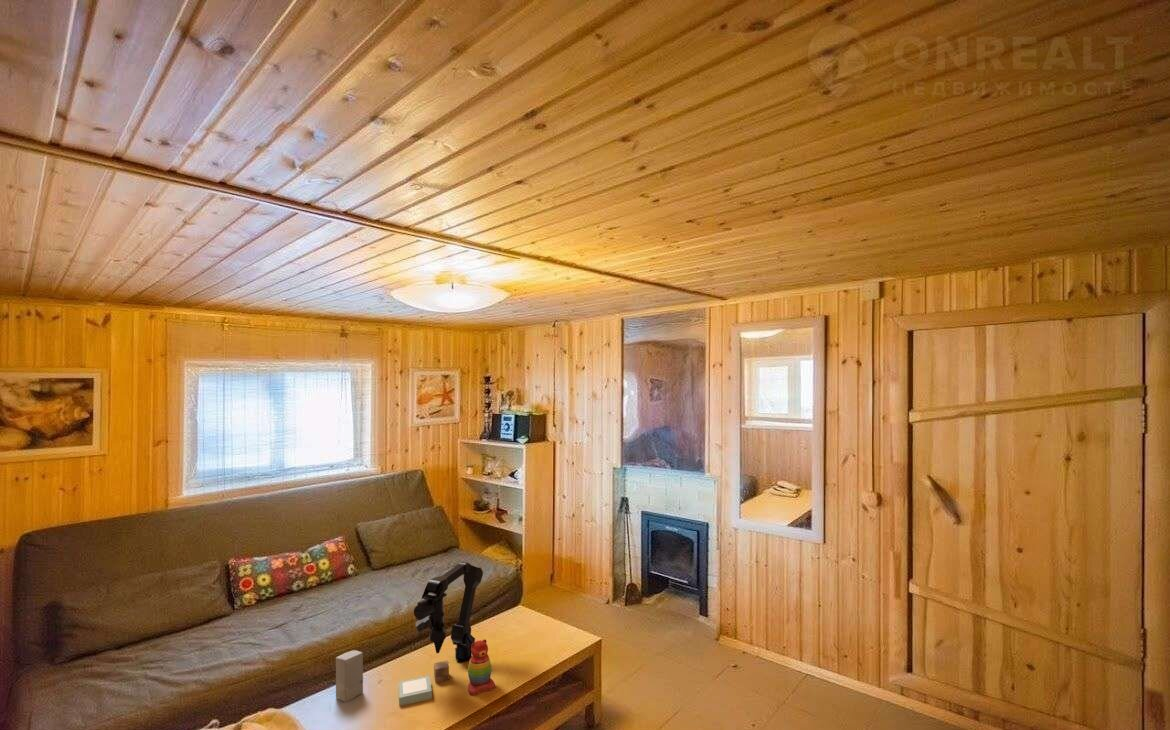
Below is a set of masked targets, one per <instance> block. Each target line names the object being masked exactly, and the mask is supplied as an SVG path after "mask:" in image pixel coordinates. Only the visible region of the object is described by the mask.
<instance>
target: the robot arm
mask: <svg viewBox="0 0 1170 730" xmlns="http://www.w3.org/2000/svg"><path fill="white" fill-rule="evenodd" d="M462 575H463V584H464V586H465V587H464V590H463V596H462V601H461V605H460V610H459V616H458V620H457V622H456V623H455V624H453V625H452V626H451V631H450V640H451V641H452V645H456V646H455V648H454V652H455V653H454V656H455V657H454V658H455V660H456V662H457V663H464V662H468V661H470V659H471V657H472V656H473V655H472V653H471V645H472V643H474V642H476V637H474V636H473V635H472V626H471V624H470V619H471V617H472V611H473V606H474V601H475V597H476V596H475V595H476V589H477V587H479V585H480V584H481V582H482V580H483V575H484V571H483V569H482V567H478V566H475V565H473V564H470V563H469V562H466V561H459V562H458V563H457V564H456V565H455V566H453V567H452V568H451V569H449V570H448V571H447V572H445V573H443V574H442V575H440V576H439V575H438V576H436V577H432V578H430V579H429V580H428V581H427V583H426V585H425V587H424V590H423V593H422V596H421V599H422V600H420V601H417V604H416V606H415V607H414V610H413V615H414V617H415V619H417V621H415V629H416V631H417V632H418V634H420V633H422V632H423V631H425V630H427V629H429V630H430V631H429V641H430V642H431V643H433V644H434V649H435V653H436V654H439V653H440V651H441V649H442V646H443V644H444V642H445V640H446V630H445V629H444V627H445V622H444V620H445V619H444V618H445V616H444V615H445V613H444V598H445V597H447V593H445V592H446V591H447V590H448V588H449V586H450V585H451V584H452V583H453V582H455V581H456V580H457V579H459V578H460V577H461V576H462Z"/></svg>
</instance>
